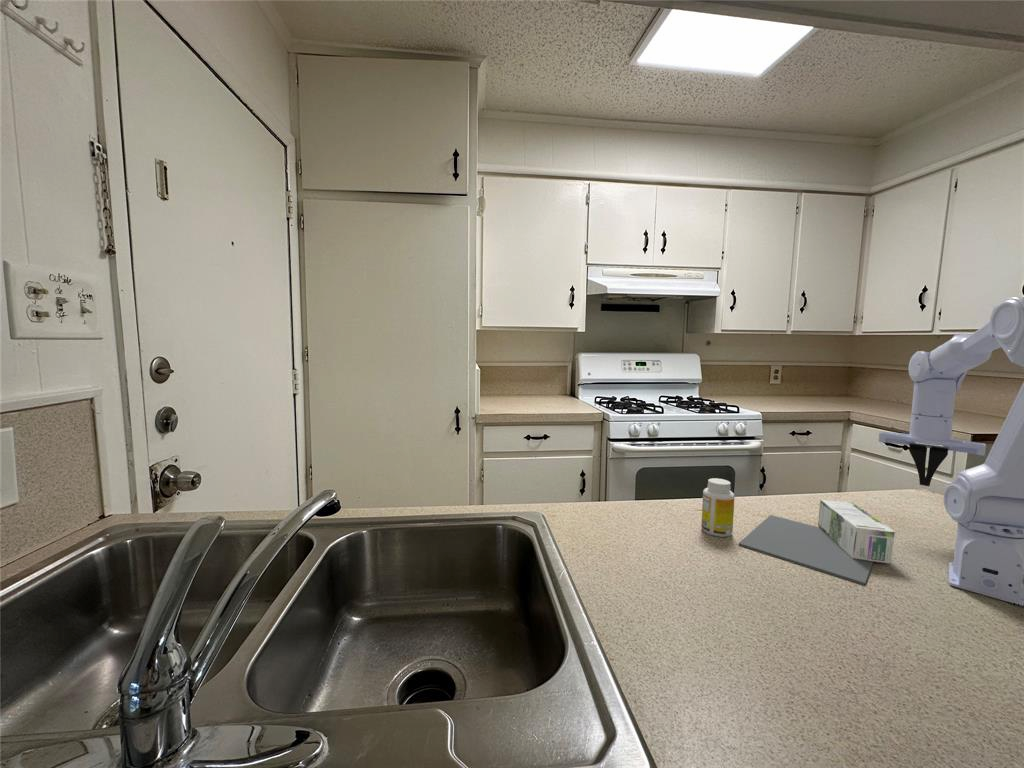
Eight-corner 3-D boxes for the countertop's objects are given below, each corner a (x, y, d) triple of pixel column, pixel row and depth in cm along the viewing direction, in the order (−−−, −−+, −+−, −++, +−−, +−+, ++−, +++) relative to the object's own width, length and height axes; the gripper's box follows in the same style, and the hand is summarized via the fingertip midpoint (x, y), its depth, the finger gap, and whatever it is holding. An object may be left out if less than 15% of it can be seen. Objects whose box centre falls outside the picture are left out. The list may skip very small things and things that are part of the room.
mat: (864, 585, 65) (865, 582, 65) (738, 545, 78) (738, 543, 78) (879, 545, 79) (879, 543, 79) (770, 516, 92) (770, 514, 92)
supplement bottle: (737, 533, 83) (740, 482, 83) (724, 540, 80) (727, 487, 79) (709, 523, 88) (712, 475, 87) (695, 530, 84) (698, 480, 83)
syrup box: (849, 529, 85) (894, 565, 71) (815, 526, 87) (853, 559, 73) (852, 502, 85) (898, 532, 71) (818, 498, 86) (856, 527, 72)
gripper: (987, 417, 79) (978, 489, 80) (883, 409, 89) (878, 472, 91) (989, 422, 74) (980, 498, 75) (880, 412, 84) (874, 479, 86)
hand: (924, 484), depth 83 cm, fingers closed
